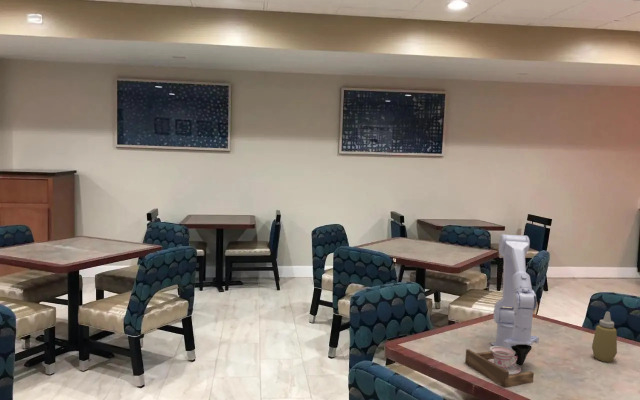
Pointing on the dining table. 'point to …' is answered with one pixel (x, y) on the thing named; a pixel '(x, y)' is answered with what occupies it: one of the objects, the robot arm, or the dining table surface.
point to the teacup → (505, 359)
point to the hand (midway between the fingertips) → (519, 364)
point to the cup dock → (495, 369)
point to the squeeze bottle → (605, 340)
